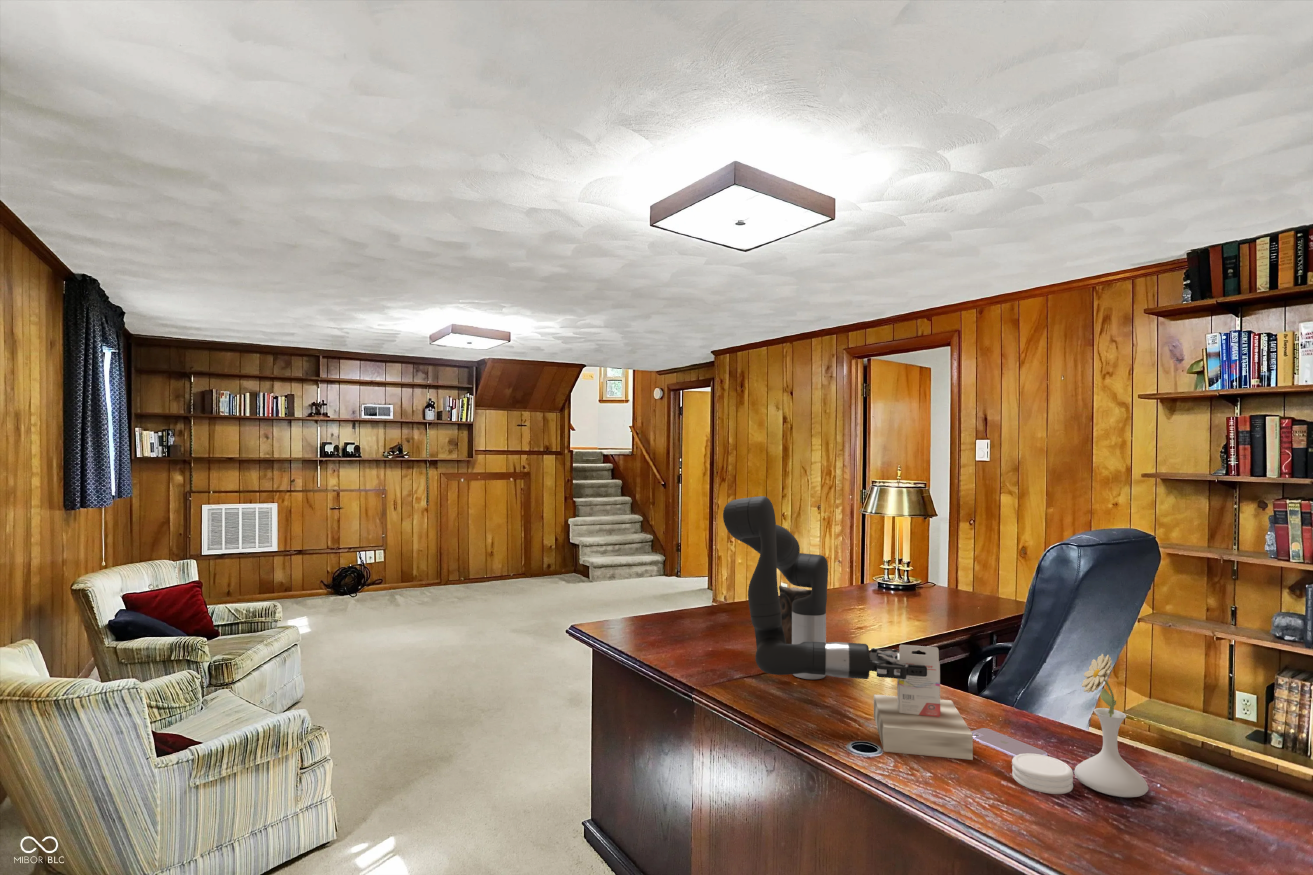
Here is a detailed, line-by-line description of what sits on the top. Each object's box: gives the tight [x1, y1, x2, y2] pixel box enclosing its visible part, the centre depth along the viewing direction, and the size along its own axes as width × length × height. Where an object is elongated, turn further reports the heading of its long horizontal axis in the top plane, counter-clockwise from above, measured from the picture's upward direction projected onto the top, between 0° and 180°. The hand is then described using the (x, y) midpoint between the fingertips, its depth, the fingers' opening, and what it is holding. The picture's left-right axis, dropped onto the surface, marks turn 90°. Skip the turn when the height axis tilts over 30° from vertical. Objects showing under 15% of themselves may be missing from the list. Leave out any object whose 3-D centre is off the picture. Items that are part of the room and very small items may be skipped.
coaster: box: [1011, 753, 1074, 795], centre depth 129 cm, size 10×10×4 cm
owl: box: [778, 584, 812, 644], centre depth 215 cm, size 13×13×20 cm
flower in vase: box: [1073, 653, 1149, 798], centre depth 127 cm, size 13×11×25 cm
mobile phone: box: [970, 727, 1048, 758], centre depth 146 cm, size 8×1×15 cm
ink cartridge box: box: [896, 644, 941, 717], centre depth 151 cm, size 9×5×15 cm, turn 74°
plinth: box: [873, 694, 974, 761], centre depth 150 cm, size 20×17×5 cm
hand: (923, 665), depth 151 cm, fingers open, 8 cm apart
